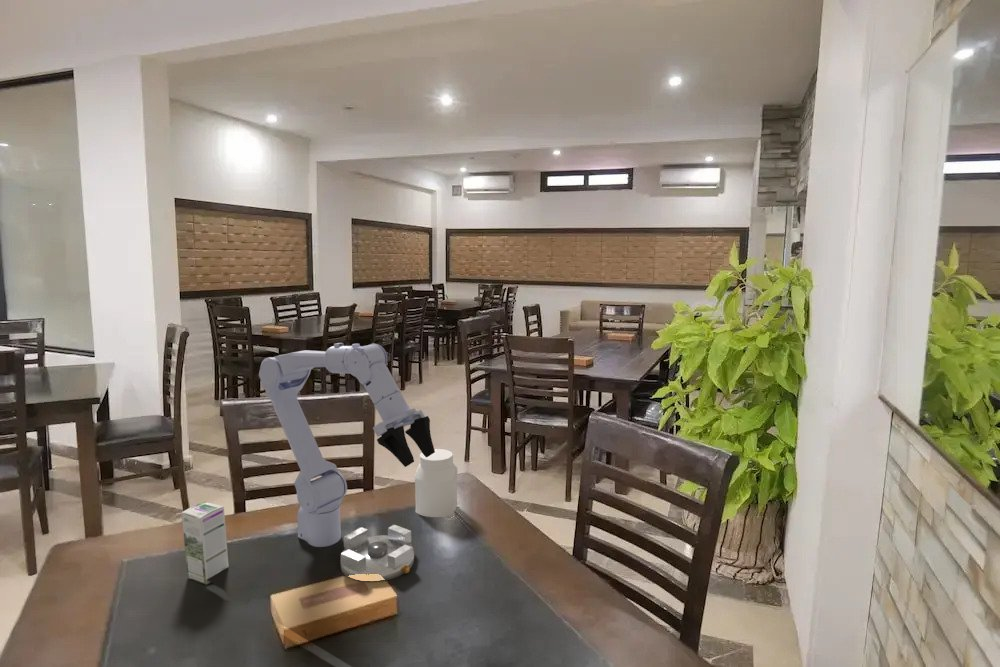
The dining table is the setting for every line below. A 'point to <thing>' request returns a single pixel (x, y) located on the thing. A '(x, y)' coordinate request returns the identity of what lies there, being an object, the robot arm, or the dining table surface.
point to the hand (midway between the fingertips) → (420, 459)
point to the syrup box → (205, 541)
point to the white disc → (378, 553)
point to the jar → (436, 485)
